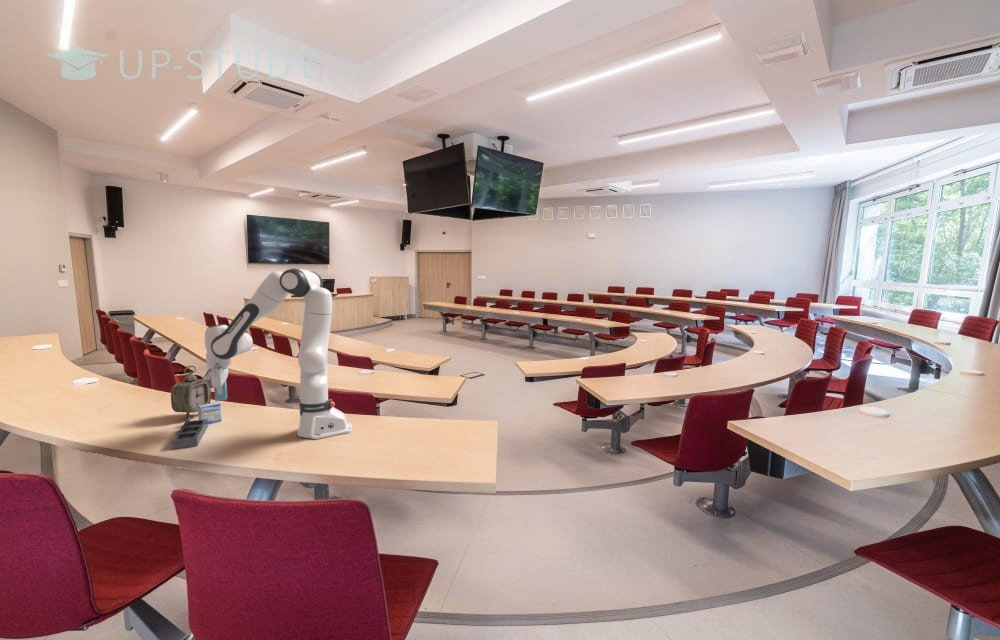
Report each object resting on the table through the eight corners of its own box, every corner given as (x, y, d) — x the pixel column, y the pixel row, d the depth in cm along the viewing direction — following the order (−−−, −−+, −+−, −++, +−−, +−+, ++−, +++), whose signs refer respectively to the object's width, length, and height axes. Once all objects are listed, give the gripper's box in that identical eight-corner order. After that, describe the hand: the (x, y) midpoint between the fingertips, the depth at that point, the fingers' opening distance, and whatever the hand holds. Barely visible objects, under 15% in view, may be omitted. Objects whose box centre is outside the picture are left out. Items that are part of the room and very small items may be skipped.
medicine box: (201, 426, 188) (200, 407, 187) (198, 423, 190) (197, 405, 190) (221, 421, 194) (220, 403, 193) (218, 419, 197) (217, 401, 196)
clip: (227, 397, 186) (226, 380, 185) (226, 400, 182) (224, 382, 181) (216, 398, 184) (215, 381, 183) (215, 401, 180) (213, 383, 179)
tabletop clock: (189, 422, 192) (186, 369, 189) (170, 422, 192) (167, 368, 189) (211, 412, 206) (209, 363, 204) (193, 412, 206) (191, 362, 204)
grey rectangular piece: (207, 426, 187) (207, 419, 187) (197, 446, 166) (196, 437, 165) (186, 429, 183) (185, 421, 183) (172, 449, 162) (171, 440, 162)
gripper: (223, 365, 173) (226, 397, 175) (230, 357, 192) (232, 386, 193) (205, 366, 171) (208, 399, 172) (213, 358, 189) (216, 387, 190)
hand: (221, 392), depth 183 cm, fingers closed on clip, 4 cm apart
